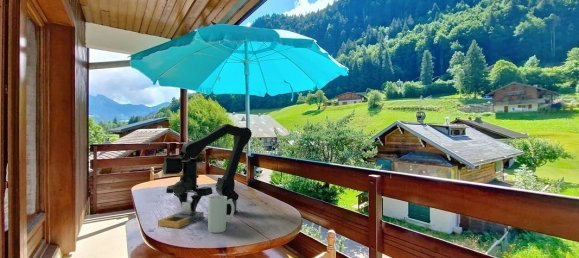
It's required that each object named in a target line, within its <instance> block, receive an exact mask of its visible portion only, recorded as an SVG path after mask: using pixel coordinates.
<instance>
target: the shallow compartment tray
mask: <svg viewBox="0 0 579 258" xmlns="http://www.w3.org/2000/svg"><path fill="white" fill-rule="evenodd" d="M204 216H205V215H204V211H196V214H193V215H191V216H189V215H182V211H180V212H177V213H174V214H172V215H169V216H167V217H164V218H161V219H158V220H157V226H158V227H165V228H172V227H173V228H175V229H181V228H182V227H185V226H186V225H189V224H192V223H194V222H195V221H198V220H200V219H202V218H204Z"/></svg>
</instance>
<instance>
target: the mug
mask: <svg viewBox="0 0 579 258" xmlns="http://www.w3.org/2000/svg"><path fill="white" fill-rule="evenodd" d="M207 199H208V201H207V231H208V232H210V233H214V234H215V233H216V234H218V233H223V232H225V231H226V227H227V226H226V225H227V222H231V221H232V219H233V216H234V214H235V213H234V204H233V201H232V199H229V200H227V197H226V196H220V195H211V196H210V195H209V196H208V198H207ZM227 204H230V205H231V207H232V210H231V214H229V216H227V214H226V210H227Z"/></svg>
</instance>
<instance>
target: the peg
mask: <svg viewBox="0 0 579 258" xmlns="http://www.w3.org/2000/svg"><path fill="white" fill-rule="evenodd" d="M196 210H197V208H196V209H195V211H194V212H192V199H191V200H190V199H187V201H184V202H182V206H181V212H182V215H189V216H191V215H193V214H196Z"/></svg>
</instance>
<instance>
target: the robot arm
mask: <svg viewBox="0 0 579 258" xmlns="http://www.w3.org/2000/svg"><path fill="white" fill-rule="evenodd" d="M252 134H253V132H252V130H251V129H250V128H249V127H245V126H244V127H243V126H242V127H241V126H235V125H233V124H230V123H225V124H222V125H220V126H219V127H218V128H215V129H214V130H213V131H211V132H209V133H208V134H206V135H204V136H202V137H200V138H197V139H194V140H192V141H189V142H186V143H185V144H183V145H182V147H181V151H180V152H179V153H178V155H177V156H175V157H168V156H167V157H164V161H163V165H162V173H163V175H165V176H166V175H179V174H180V173H182V175H180V177H179V181H177V182H176V183H174V184H171V185H167V187H166V190H165V192H166V193H165V194H173V196H175V197H176V198H178V199H179V200H178V201H179V202H180V206H181V207H182V202H184V201H187V200H188V197H189V196H188V195H189V193H193V195H190V198H191V200H192V212H194V211H195V209H196V210H197V207H198V204H199V203H200V201H201V199H202V197H206V196H210V195H213V191H214V190H213V188H212V187H211V186H201V187H199V184H197V183H198V182H197V181H198V179H199V174H198V163H203V160H202V159H201V158H200V157H199V154H200V153H202V152H203V151H204V149H206V147H208V146H209V145H211V144H212V143H214V142H216V141H217V140H219V139H220V138H223V137H224V136H226V135H230V136H233V138H232V139H233V146H232V150H231V153H230V156H229V159H228V163H227V165H226V169H225V170H224V174H223V176H222V177H218V178H217V182H216V184H215V185H214V187H215V192H216V193H217V194H218V196H226V197H227V200H229V199H232V201H233V204H234V214H235V213H238V212H239V210H238V209H237V203H238V202H237V201H238V200H239V197H240V195H239V194H238V193H237V192H236V191H235V185H236V183H235V176H236V174H237V171H238V167H239V165H240V161H241V158H242V155H243V151H244V149H245V147H246V145H248V143H249V142H250V140H251V138H252ZM231 210H232V207H231V205H230V204H227V210H226V215H230V214H231Z"/></svg>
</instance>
